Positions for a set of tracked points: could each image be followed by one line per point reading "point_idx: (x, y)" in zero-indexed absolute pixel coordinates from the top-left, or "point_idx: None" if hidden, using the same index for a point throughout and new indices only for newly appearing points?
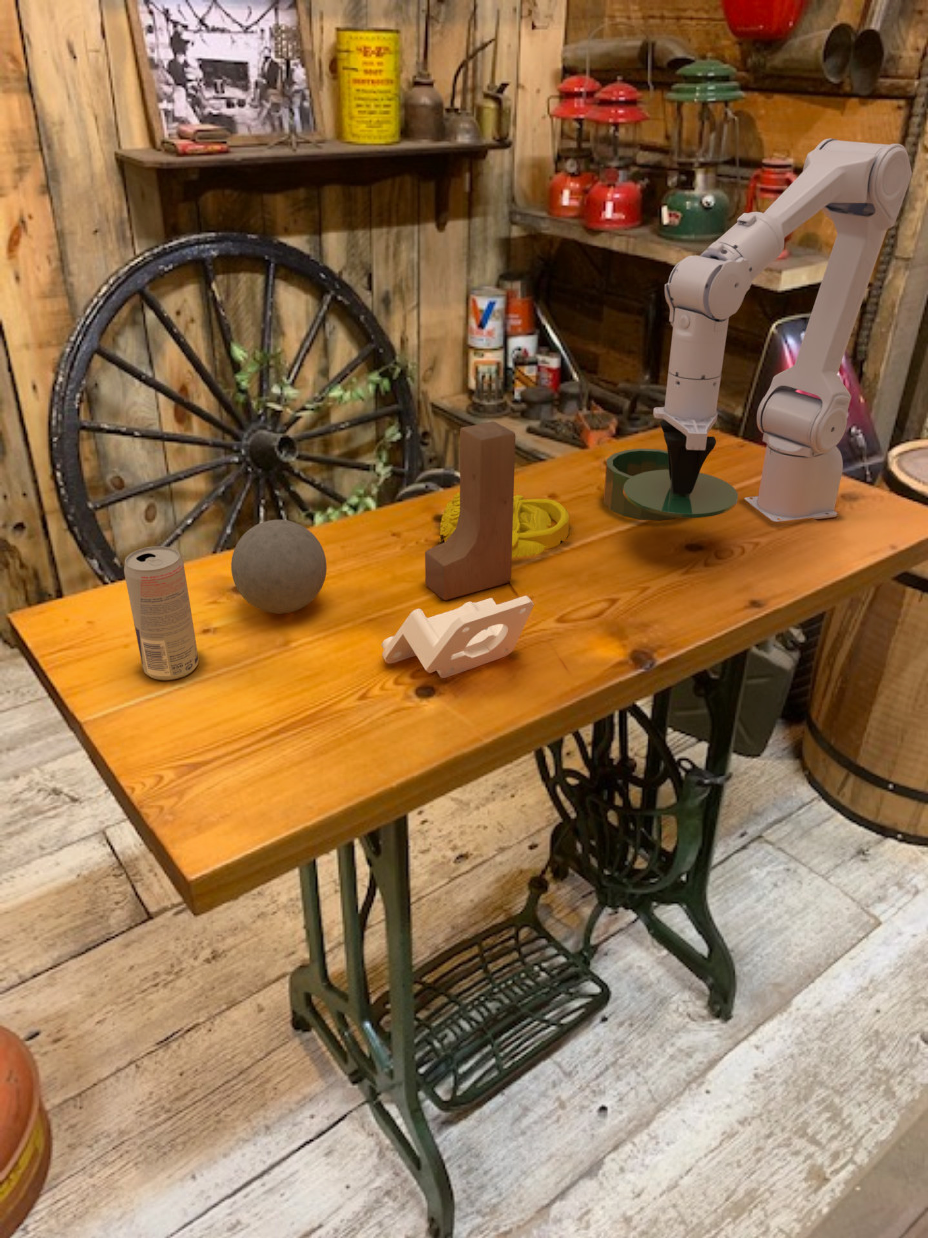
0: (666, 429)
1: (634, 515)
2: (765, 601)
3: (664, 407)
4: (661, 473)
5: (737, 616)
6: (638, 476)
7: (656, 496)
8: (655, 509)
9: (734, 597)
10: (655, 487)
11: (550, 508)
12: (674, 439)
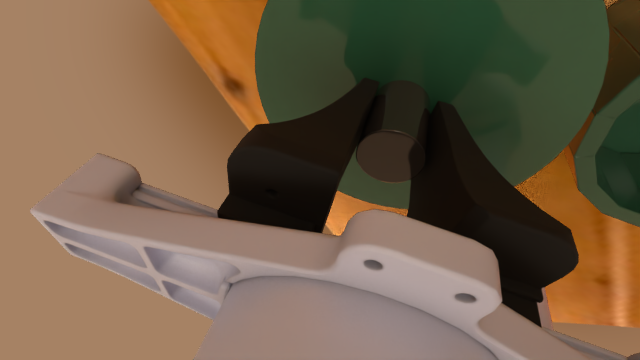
0: (460, 213)
1: (628, 4)
2: (242, 101)
3: (460, 328)
4: (553, 111)
5: (196, 46)
6: (581, 21)
7: (376, 20)
8: None
9: (248, 67)
10: (448, 45)
11: None
12: (233, 168)
